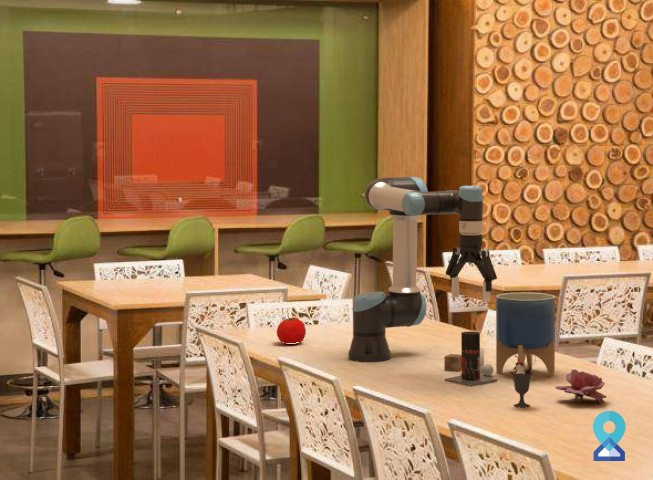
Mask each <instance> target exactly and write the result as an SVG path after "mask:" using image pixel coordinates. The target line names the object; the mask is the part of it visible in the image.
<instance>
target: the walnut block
mask: <svg viewBox="0 0 653 480" xmlns="http://www.w3.org/2000/svg"><path fill="white" fill-rule="evenodd" d="M443 358H444V359H443V360H444V363H443V365H444V366H443V367H444V370H443V371H445V372H454V371H455V372H457V373H459V372H460V371H461V372H462V354H458V353H457V354H456V353H455V354H454V353H449V354H447V355H444V357H443ZM455 372H454V373H455Z"/></svg>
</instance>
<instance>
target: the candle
mask: <svg viewBox="0 0 653 480" xmlns="http://www.w3.org/2000/svg"><path fill="white" fill-rule="evenodd" d="M483 365H485V348H482V347H480V376H482V375H483V374H482V372H481V368H482V366H483Z"/></svg>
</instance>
